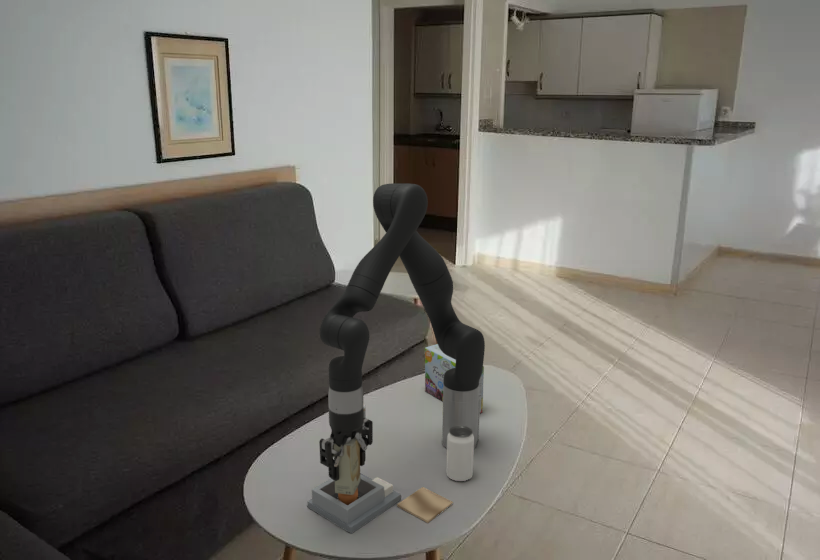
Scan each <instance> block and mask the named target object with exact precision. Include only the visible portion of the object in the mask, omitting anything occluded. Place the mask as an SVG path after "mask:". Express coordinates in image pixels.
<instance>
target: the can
mask: <svg viewBox="0 0 820 560" xmlns="http://www.w3.org/2000/svg"><path fill="white" fill-rule="evenodd" d="M472 433H473V431H472V429H471V428H469V427H466V426H454V427H452V428H450V430H449V434H448V436H447V448H446V477H448V479H450V480H451V479H452V480H451V481H453V480H455V481H454V482H457V481H464V482H467V481H469V480H470V479H471V478H472V477H473V474H474V452H475V451H474V449H475V448H474V436H473V434H472ZM468 479H469V480H468ZM466 480H467V481H466Z"/></svg>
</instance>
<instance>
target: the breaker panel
mask: <svg viewBox="0 0 820 560" xmlns="http://www.w3.org/2000/svg"><path fill="white" fill-rule="evenodd" d="M357 488H358V499H357V500H355V501H354V502H352V503H351V504H349V505H346V504H344V503H342V502H341V501H339V500H338V493H335V480H333V479H331V478H329V479H327V480H326V481H324V482H322V483H320V484H319V485H317V486H316V487H315V486H314V488H311V499H310V500H308V501H307V508H308V509H310V510H311V511H312V512H313V511H314V513H317V514H319V515H320V516H322V517H323V518H324V519H326V520H328V521H330V522H331V523H333V524H335V525H337V526H338V527H339V528H341V529H342V530H344V531H346V532H348V533H349V534H353V533H355V531H358V530H359V529H361V528H363V526H365V525H366V524H368V523H370V522H371V521H373V520H374V519H375V518H377V517H378V516H380V515H381V514H383V513H384V512H386V511H387V510H388V509H389V508H391V507H393V506H394V505H396V504H398V503H400V502H401V501H402V494H401V493H400V492H398V491H396V490H394V485H393V484H392V483H390V482H388V481H386V480H384V479H381V478H380V477H378V476H376V477H375V478H371V477H370V476H367V475H365V474H364V473H362V472H360V483H359V485H358V487H357Z"/></svg>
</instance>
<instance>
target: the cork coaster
mask: <svg viewBox="0 0 820 560" xmlns="http://www.w3.org/2000/svg"><path fill="white" fill-rule="evenodd" d="M452 503H453V504H454V502H453V501H451V500H450V499H448V498H446V497H444V496H442V495H440V494H437V493H435V492H433V491H432V490H430V489H427V488H426V487H424V486H422V487H421V488H419V489H417V490H416V491H414V492H413V493H411V494H410V495H409V496H406V497H405V498H404V499H403V500H400V501H399V502H397V503H396V504H397V505H396V508H397V507H398V508H399V509H401V510H403V511H405V512H406V513H408V514H410V515H411V516H414V517H416V518H417V519H419V520H421V521H423V522H425V523H427V524H429V523H430V522H432V521H433V520H434V519H435V518H437V517H438V516H439V515H441V514H442V513H443V512H445V511H446V510H447V509H448V508H447V507H449V506H450V505H451V504H452ZM451 506H452V505H451ZM451 506H450V507H451ZM450 507H449V508H450ZM446 508H447V509H446ZM445 509H446V510H445ZM444 510H445V511H444ZM442 511H443V512H442ZM441 512H442V513H441ZM440 513H441V514H440ZM438 514H439V515H438ZM437 515H438V516H437ZM436 516H437V517H436Z"/></svg>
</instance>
